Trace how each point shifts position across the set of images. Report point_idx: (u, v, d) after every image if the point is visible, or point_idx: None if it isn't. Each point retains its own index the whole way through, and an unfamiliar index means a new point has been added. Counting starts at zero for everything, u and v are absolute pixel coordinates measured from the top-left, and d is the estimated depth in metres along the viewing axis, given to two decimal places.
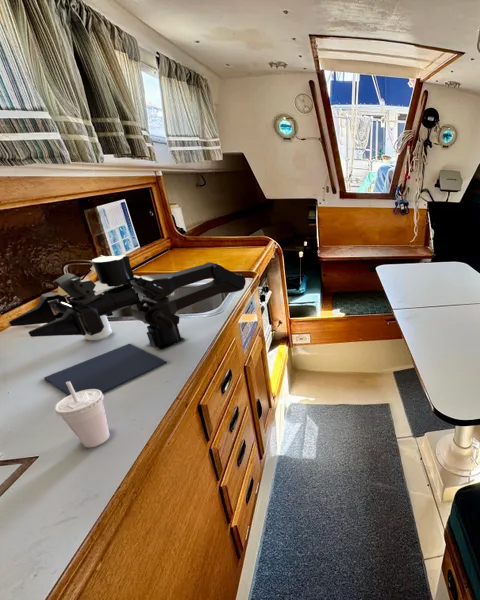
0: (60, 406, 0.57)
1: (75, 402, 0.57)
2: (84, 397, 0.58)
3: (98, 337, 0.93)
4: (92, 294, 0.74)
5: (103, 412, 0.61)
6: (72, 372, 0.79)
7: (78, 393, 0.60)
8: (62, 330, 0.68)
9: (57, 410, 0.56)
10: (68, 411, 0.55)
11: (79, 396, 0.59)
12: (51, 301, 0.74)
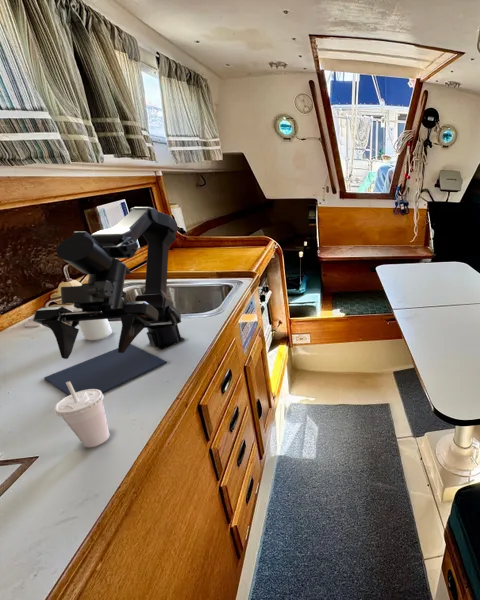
0: (60, 406, 0.57)
1: (75, 402, 0.57)
2: (84, 397, 0.58)
3: (98, 337, 0.93)
4: None
5: (103, 412, 0.61)
6: (72, 372, 0.79)
7: (78, 393, 0.60)
8: (133, 333, 0.67)
9: (57, 410, 0.56)
10: (68, 411, 0.55)
11: (79, 396, 0.59)
12: (59, 318, 0.63)
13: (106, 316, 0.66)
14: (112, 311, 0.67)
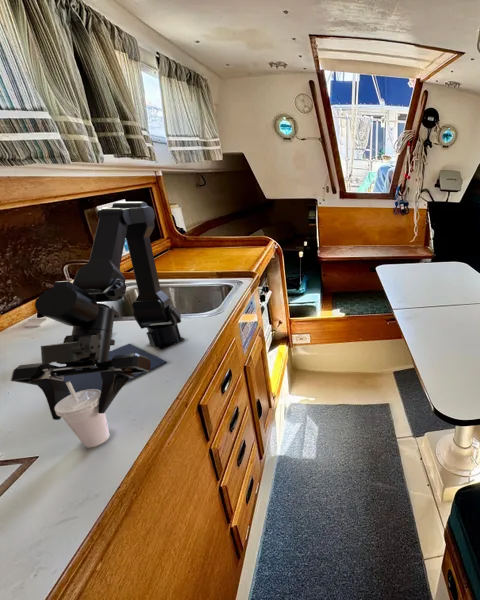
0: (60, 406, 0.57)
1: (75, 402, 0.57)
2: (84, 397, 0.58)
3: None
4: None
5: None
6: None
7: (78, 393, 0.60)
8: (115, 388, 0.61)
9: (57, 410, 0.56)
10: (68, 412, 0.55)
11: (79, 396, 0.59)
12: (49, 375, 0.58)
13: (85, 371, 0.60)
14: (99, 364, 0.61)
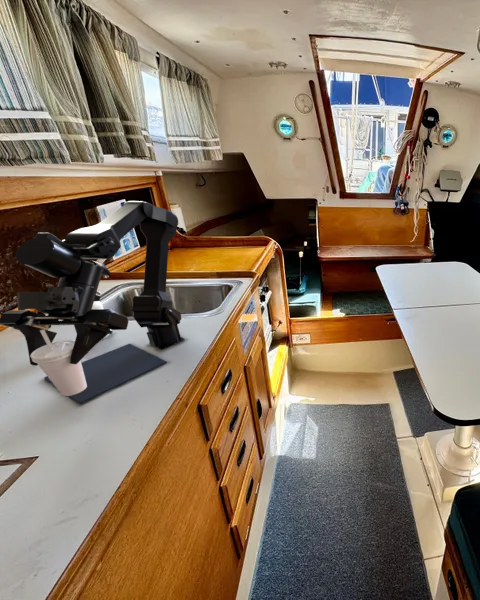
0: (36, 352, 0.59)
1: (50, 350, 0.59)
2: (60, 347, 0.60)
3: None
4: None
5: (78, 364, 0.62)
6: None
7: (57, 343, 0.62)
8: (91, 342, 0.63)
9: (32, 356, 0.58)
10: (40, 358, 0.57)
11: (56, 345, 0.61)
12: (32, 322, 0.60)
13: (65, 322, 0.62)
14: (78, 317, 0.63)
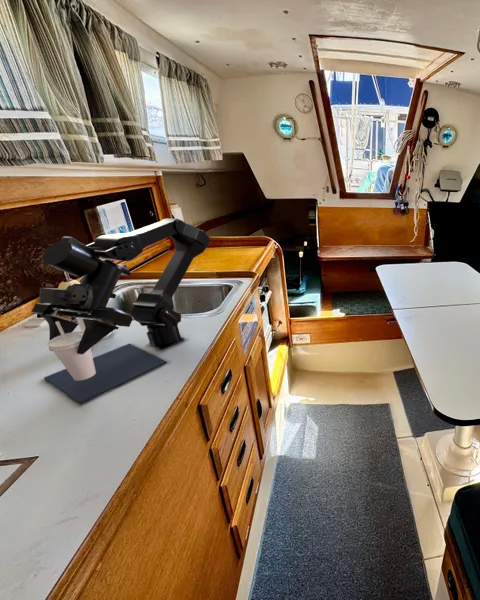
0: (53, 340, 0.68)
1: (63, 340, 0.67)
2: (72, 337, 0.69)
3: None
4: (85, 292, 0.69)
5: (86, 353, 0.70)
6: None
7: (74, 333, 0.70)
8: (98, 335, 0.70)
9: (48, 343, 0.67)
10: (52, 346, 0.66)
11: (70, 335, 0.69)
12: (56, 313, 0.69)
13: (81, 316, 0.71)
14: (91, 312, 0.71)
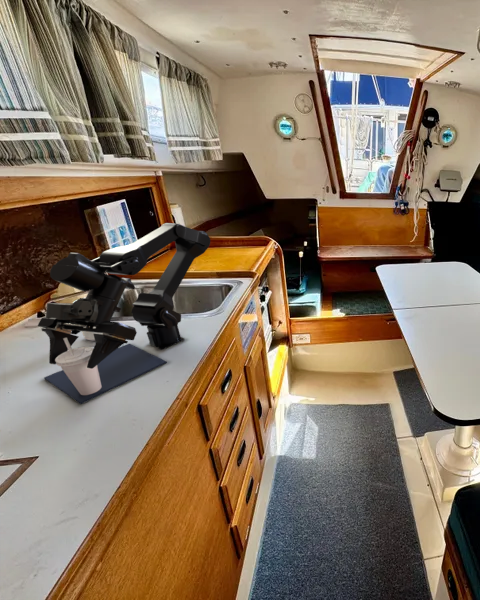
0: (61, 356, 0.69)
1: (70, 355, 0.69)
2: (79, 353, 0.70)
3: None
4: None
5: (93, 368, 0.72)
6: None
7: (80, 348, 0.72)
8: (108, 350, 0.71)
9: (56, 359, 0.68)
10: (60, 362, 0.67)
11: (77, 351, 0.71)
12: (56, 327, 0.71)
13: (91, 330, 0.72)
14: (96, 326, 0.72)
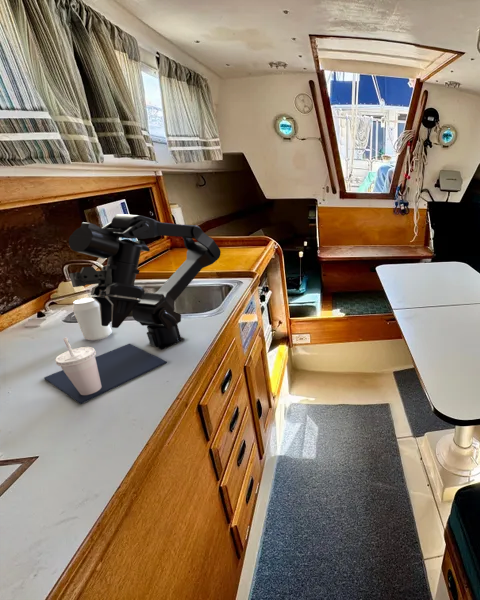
0: (61, 356, 0.69)
1: (70, 355, 0.69)
2: (79, 353, 0.70)
3: (98, 337, 0.93)
4: (104, 272, 0.75)
5: (93, 368, 0.72)
6: None
7: (80, 348, 0.72)
8: (125, 310, 0.75)
9: (56, 359, 0.68)
10: (60, 362, 0.67)
11: (77, 351, 0.71)
12: (100, 294, 0.80)
13: None
14: None
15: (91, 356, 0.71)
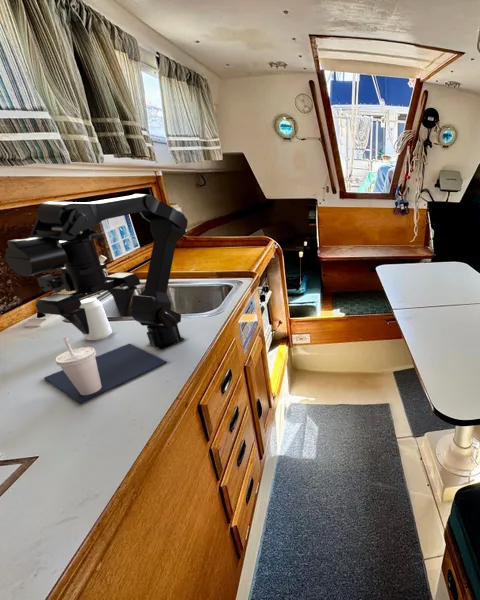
0: (61, 356, 0.69)
1: (70, 355, 0.69)
2: (79, 353, 0.70)
3: (98, 337, 0.93)
4: None
5: (93, 368, 0.72)
6: None
7: (80, 348, 0.72)
8: (77, 319, 0.69)
9: (56, 359, 0.68)
10: (60, 362, 0.67)
11: (77, 351, 0.71)
12: None
13: None
14: None
15: (91, 356, 0.71)
